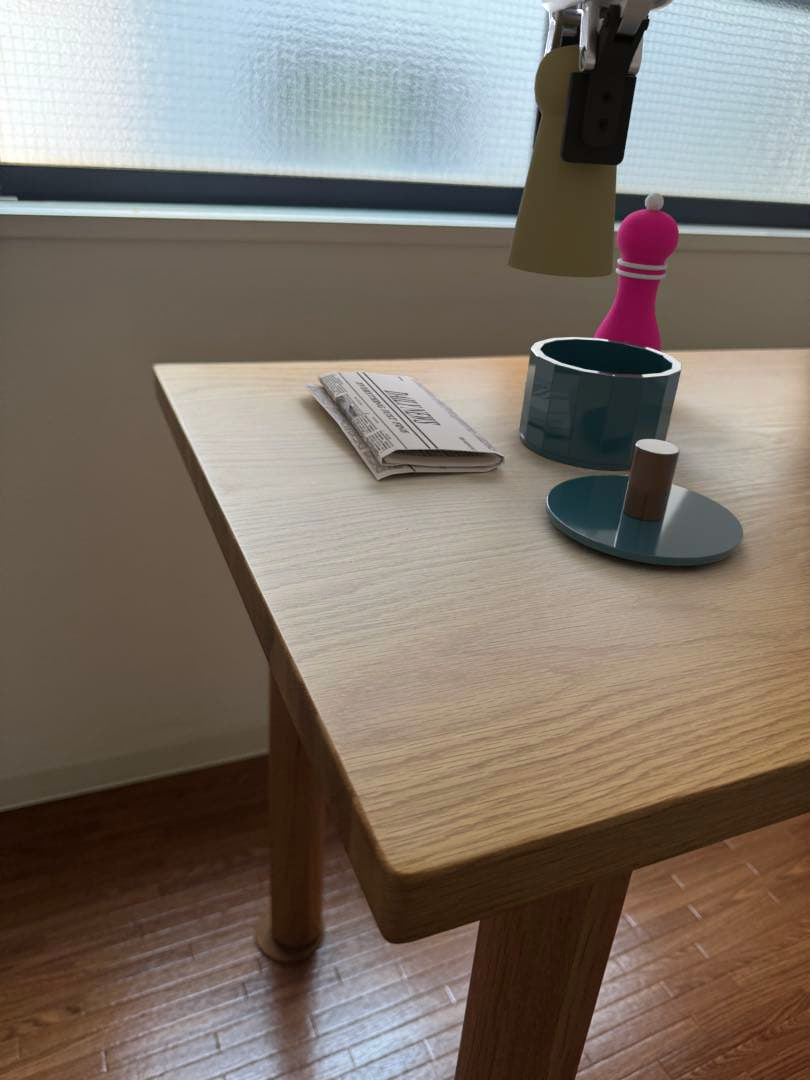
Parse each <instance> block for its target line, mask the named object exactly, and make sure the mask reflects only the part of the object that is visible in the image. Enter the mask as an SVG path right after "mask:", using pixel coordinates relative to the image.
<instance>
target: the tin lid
mask: <svg viewBox="0 0 810 1080" xmlns="http://www.w3.org/2000/svg"><path fill="white" fill-rule="evenodd" d="M680 453H681V449H680V448H679V446H677V445H676V444H674V443H672V442H669V441H666V440H665V441H662V440H656V439H642V440H638V441H637V442H636V443H635V448H634V452H633V457H632V462H631V467H630V470H628V475H621V474H596V475H595V474H593V475H584V476H579V477H578V476H577V477H574V478H571V479H567V480H564V481H561V482H560V483H557V485H555V486H553V488H551V489H550V491H549V492H548V494H547V497H546V501H545V511H546V515H547V517H548V518H549V520H550V521H551V523H552V524H553V525H554V526H555V527H556V528H557V529H558V530H559V531H561V532H562V533H563V534H565V535H566V536H568V537H569V538H571V539H573V541H576V542H578V543H580V544H582V545H584V546H586V547H588V548H591V549H593V550H596V551H599V552H601V553H604V554H607V555H610V556H613V557H617V558H621V559H625V560H629V561H632V562H633V561H634V562H639V563H645V564H650V565H651V564H652V565H661V566H671V567H672V566H675V567H683V566H684V567H685V566H687V567H690V566H700V565H701V566H702V565H709V564H712V563H716V562H720V561H723V560H725V559H728V558H730V557H732V555H734V554H736V552H738V551H739V549H740V547H741V545H742V542H743V538H744V529H743V525H742V524H741V522H740V520H739V519H738V518H737V516H736V515H735V514H734V513H732V512H731V511H730V510H729V509H728V508H726V507H725V506H724V505H722V504H721V503H720V502H717V501H715V500H714V499H712V498H709V497H707V496H706V495H704V494H701V493H699V492H696V491H694V490H692V489H689V488H685V487H682V486H680V485H677V484H674V483H673V482H674V478H675V475H676V470H677V466H678V460H679V457H680Z"/></svg>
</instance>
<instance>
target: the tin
mask: <svg viewBox="0 0 810 1080" xmlns="http://www.w3.org/2000/svg"><path fill="white" fill-rule="evenodd" d="M682 366H683V363H681V362H680V361H678V360H677V359H676V358H674V357H673V356H672V355H670V354H667V353H665V352H662V351H661V352H660V351H657V350H654V349H652V348H648V347H644V346H639V345H635V344H631V343H626V342H620V341H613V340H606V339H599V338H594V337H582V336H581V337H580V336H568V337H551V338H547V339H543V340H540V341H536V342H535V343H534V344H532V346H531V348H530V352H529V358H528V366H527V373H526V380H525V387H524V394H523V401H522V408H521V415H520V422H519V430H518V431H519V439H520V441H521V442H522V444H523V445H525V447H527V448H528V449H529V450H531V451H532V452H534V453H536V454H538V455H540V456H542V457H544V458H547V459H549V460H553V461H556V462H559V463H561V464H565V465H570V466H574V467H578V468H584V469H592V470H600V471H630V467H631V462H632V457H633V452H634V448H635V443H636V442H637V441H638V440H642V439H656V440H662V441H666V440H667V436H668V431H669V428H670V427H669V426H670V422H671V418H672V413H673V409H674V405H675V400H676V396H677V391H678V387H679V382H680V378H681V374H682Z"/></svg>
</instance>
